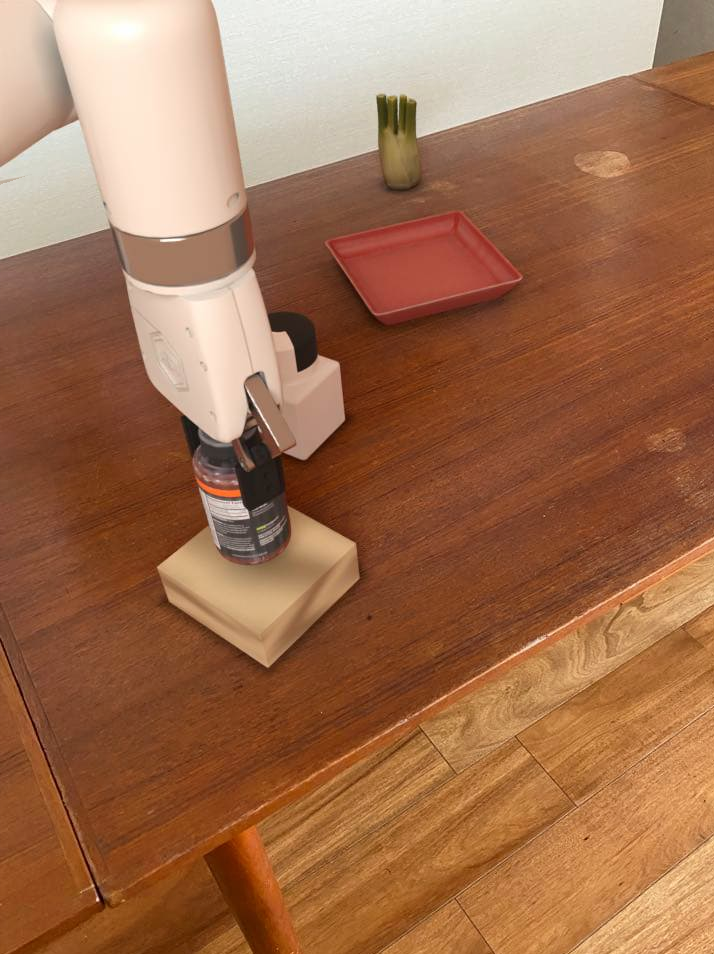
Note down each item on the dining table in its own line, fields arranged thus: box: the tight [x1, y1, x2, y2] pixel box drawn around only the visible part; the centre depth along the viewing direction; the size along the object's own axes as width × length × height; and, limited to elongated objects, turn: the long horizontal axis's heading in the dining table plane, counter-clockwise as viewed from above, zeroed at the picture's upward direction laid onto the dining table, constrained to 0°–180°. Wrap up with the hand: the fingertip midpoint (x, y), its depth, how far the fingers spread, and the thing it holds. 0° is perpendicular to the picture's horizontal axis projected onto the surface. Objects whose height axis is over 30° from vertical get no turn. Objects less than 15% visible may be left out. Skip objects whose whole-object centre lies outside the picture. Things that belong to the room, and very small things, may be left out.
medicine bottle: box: [248, 310, 346, 461], centre depth 80 cm, size 7×7×12 cm
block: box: [156, 504, 360, 669], centre depth 69 cm, size 11×11×4 cm
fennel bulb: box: [375, 93, 422, 192], centre depth 116 cm, size 6×5×12 cm
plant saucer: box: [324, 210, 523, 326], centre depth 102 cm, size 18×18×3 cm
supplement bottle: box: [192, 412, 291, 565], centre depth 62 cm, size 6×6×11 cm
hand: (237, 473), depth 61 cm, fingers closed on supplement bottle, 6 cm apart
